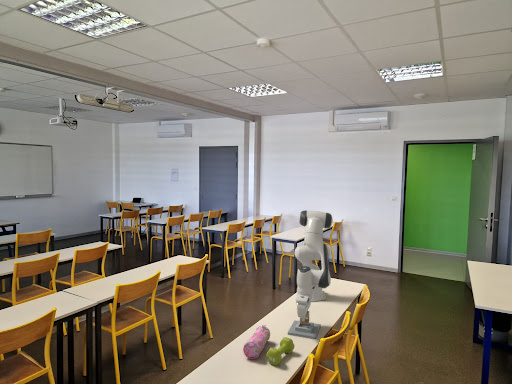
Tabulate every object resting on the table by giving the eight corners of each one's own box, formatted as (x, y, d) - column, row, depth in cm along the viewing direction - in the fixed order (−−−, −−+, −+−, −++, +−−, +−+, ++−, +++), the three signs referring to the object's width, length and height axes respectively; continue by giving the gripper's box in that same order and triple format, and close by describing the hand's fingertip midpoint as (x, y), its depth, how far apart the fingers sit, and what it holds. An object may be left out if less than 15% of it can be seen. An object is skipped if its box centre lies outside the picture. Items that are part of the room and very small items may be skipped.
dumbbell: (278, 368, 152) (278, 353, 152) (264, 363, 157) (264, 348, 156) (295, 352, 166) (295, 339, 165) (282, 348, 170) (282, 334, 170)
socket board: (294, 322, 199) (294, 317, 199) (320, 326, 193) (320, 321, 193) (287, 334, 184) (287, 328, 184) (315, 339, 178) (315, 333, 178)
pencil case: (256, 338, 181) (256, 322, 180) (272, 340, 178) (271, 324, 177) (241, 359, 161) (241, 341, 160) (259, 362, 158) (259, 344, 157)
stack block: (301, 319, 191) (301, 310, 191) (309, 321, 190) (309, 311, 189) (300, 323, 187) (299, 313, 187) (307, 324, 185) (307, 314, 185)
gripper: (303, 288, 198) (303, 310, 199) (295, 301, 179) (295, 325, 180) (313, 289, 196) (313, 312, 197) (306, 302, 177) (306, 327, 178)
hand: (304, 318), depth 188 cm, fingers closed on stack block, 4 cm apart
